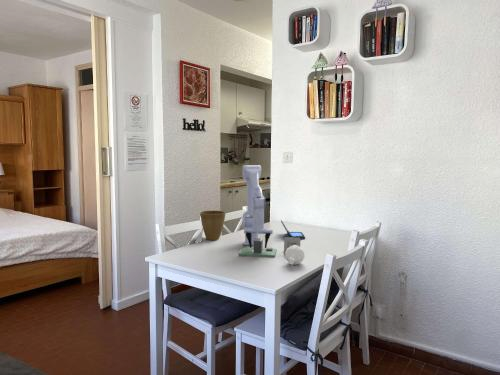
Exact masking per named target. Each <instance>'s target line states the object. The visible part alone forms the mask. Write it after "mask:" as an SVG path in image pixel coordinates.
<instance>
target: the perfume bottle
mask: <svg viewBox="0 0 500 375" xmlns="http://www.w3.org/2000/svg"><path fill="white" fill-rule="evenodd" d="M284 256H285V257H284V258H285V259H286V261H287V264H289V265H295V266H296V265H299V264H300V263H302V262H303V261H304V259H305V251H304V250H303V248H302V247H301V246H300V247H299V246H297V245H293V246H290V247H289V248H287V249H286V252H285V253H284Z"/></svg>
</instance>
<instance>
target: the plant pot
mask: <svg viewBox="0 0 500 375" xmlns="http://www.w3.org/2000/svg"><path fill="white" fill-rule="evenodd" d="M199 213H200V221H201V225H202V229H203V233H204V236H205V239H206V240H208V241H217V240H220V237H221V234H222V231H223V228H224V224H225V220H226V211H223V210H204V211H202V210H201V211H200V212H199Z"/></svg>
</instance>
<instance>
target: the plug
mask: <svg viewBox="0 0 500 375" xmlns="http://www.w3.org/2000/svg"><path fill="white" fill-rule="evenodd" d="M263 240H264V239H263V238H262V237H261V238H260V237H258V238H255V239H254V245H253V248H254V253H262V250H263V247H264V246H263V243H264V241H263Z"/></svg>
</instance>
